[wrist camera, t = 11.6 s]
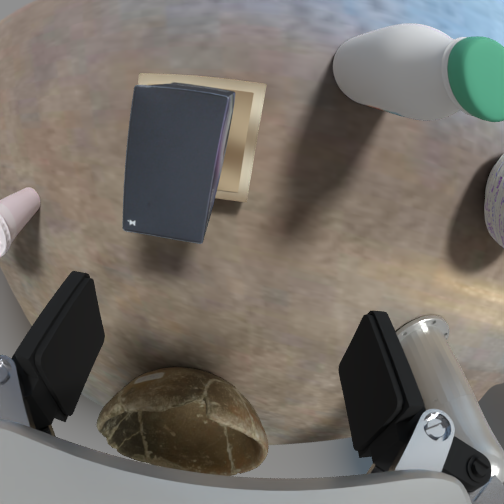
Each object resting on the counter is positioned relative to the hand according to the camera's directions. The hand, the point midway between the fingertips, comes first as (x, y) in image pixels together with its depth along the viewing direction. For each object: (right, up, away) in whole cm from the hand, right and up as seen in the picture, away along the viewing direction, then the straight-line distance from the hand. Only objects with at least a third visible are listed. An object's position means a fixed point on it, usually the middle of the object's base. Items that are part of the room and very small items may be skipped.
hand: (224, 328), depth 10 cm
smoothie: (-29, +10, +24) cm, 39 cm away
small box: (-4, +13, +18) cm, 23 cm away
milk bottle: (+13, +21, +17) cm, 30 cm away
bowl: (-10, -20, +42) cm, 48 cm away
